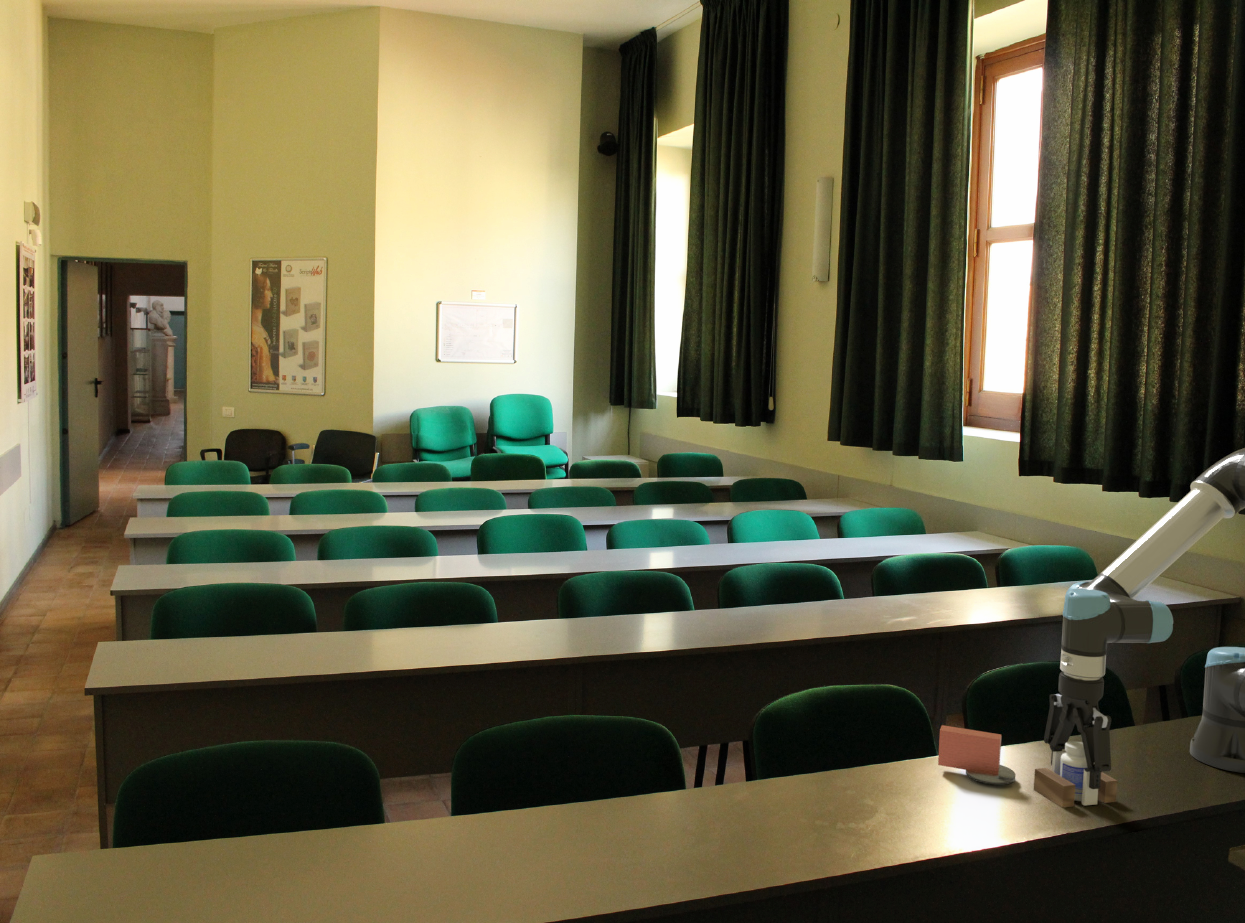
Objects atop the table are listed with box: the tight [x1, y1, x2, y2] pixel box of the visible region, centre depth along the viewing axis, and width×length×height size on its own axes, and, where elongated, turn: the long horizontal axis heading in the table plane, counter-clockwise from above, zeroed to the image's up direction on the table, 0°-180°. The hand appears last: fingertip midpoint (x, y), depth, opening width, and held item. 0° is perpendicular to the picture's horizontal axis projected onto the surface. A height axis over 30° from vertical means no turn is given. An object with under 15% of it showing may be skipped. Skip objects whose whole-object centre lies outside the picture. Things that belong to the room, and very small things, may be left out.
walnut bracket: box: [1033, 767, 1118, 808], centre depth 190 cm, size 12×8×4 cm
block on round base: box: [937, 724, 1016, 786], centre depth 198 cm, size 9×14×8 cm, turn 65°
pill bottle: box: [1060, 740, 1088, 802], centre depth 190 cm, size 5×5×10 cm
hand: (1073, 794), depth 191 cm, fingers open, 8 cm apart
